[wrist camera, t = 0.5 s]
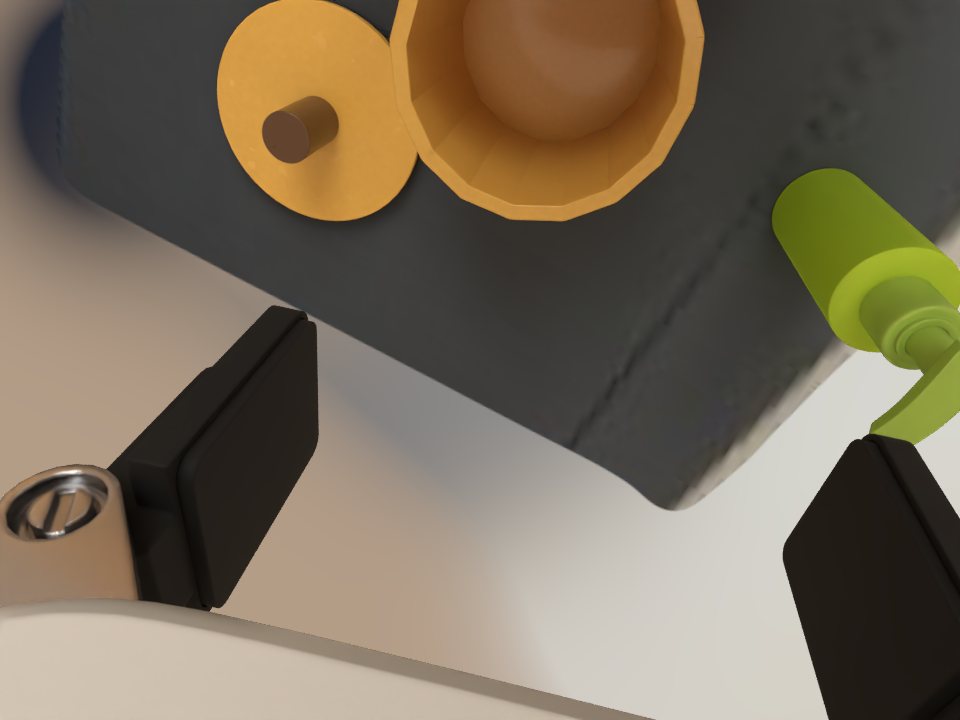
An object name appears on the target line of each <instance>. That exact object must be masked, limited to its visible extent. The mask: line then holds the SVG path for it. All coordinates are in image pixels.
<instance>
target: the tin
mask: <svg viewBox="0 0 960 720" xmlns="http://www.w3.org/2000/svg"><path fill="white" fill-rule="evenodd" d="M704 34H705V33H704V29H703V25H702V21H701V16H700V12H699V8H698V3H697V0H399V4H398V8H397V12H396V16H395V20H394V24H393V28H392V32H391V36H390V40H389V41H390V53H391V63H392V73H393V83H394V93H395V102H396V107H397V110H398V112H399V114H400V116H401V118H402V120H403V122H404V124H405V126H406V129H407V131H408V133H409V135H410V137H411V139H412V141H413V143H414V145H415V147H416V150H417V152H418V154H419V156H420V158H421V159H422V161H423V162H424V163H425V164H426V165H427V166H428V167H429V168H430V169H431V170H432V171H433V172H434V173H436V174H437V175H438V176H439V177H440V178H441V179H442V180H443V181H444V182H445V183H446V184H447V185H448V186H449V187H450V188H451V189H452V190H453V191H454V192H455V193H456V194H457V195H458V196H459V197H460V198H462V199H464V200H466V201H468V202H471V203H473V204H475V205H478V206H480V207H482V208H485V209H487V210H489V211H491V212H494V213H496V214H498V215H501V216H503V217H505V218H508V219H512V220H540V221H567V220H569V219H572V218H575V217H578V216H580V215H583V214H586V213H589V212H592V211H594V210H597V209H600V208H603V207H606V206H608V205H611V204H614V203H616V202H618V201H619V200H620V199H621V198H623V197H624V196H625V195H626V194H627V193H628V192H630V191H631V190H632V189H633V188H634V187H635V186H637V185H638V184H639V183H640V182H641V181H642V180H644V179H645V178H646V177H647V176H648V175H649V174H651V173H652V172H653V171H654V170H655V169H656V168H658V167H659V166H660V165H661V164H662V162H663V161H664V160H665V158H666V156H667V154H668V152H669V151H670V149H671V147H672V145H673V143H674V142H675V140H676V138H677V136H678V134H679V133H680V131H681V129H682V127H683V126H684V124H685V122H686V120H687V118H688V117H689V115H690V113H691V111H692V109H693V107H694V106H693V105H694V104H695V99H696V93H697V86H698V80H699V73H700V66H701V60H702V53H703V47H704V40H705V38H704Z"/></svg>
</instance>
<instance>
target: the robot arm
mask: <svg viewBox="0 0 960 720" xmlns="http://www.w3.org/2000/svg"><path fill="white" fill-rule="evenodd" d="M317 376H318V375H317V329H316V325H315V323H314V322H311V321H308V317H307V314H306V313H305V312H304V311H299V310H294V309H289V308H285V307H280V306H275V305H274V306H271V307H269V308H268V309H267V310H266V311H265V312H264V313H263V314H262V315H261V317H260V318H259V319H258V320H257V321H256V322H255V323H254V324H253V325H252V326H251V327H250V328H249V329H248V330H247V331H246V332H245V333H244V334H243V335H242V336H241V337H240V338H239V339H238V340H237V342H236V343H235V344H234V345H233V346H232V347H231V348H230V349H229V350H228V351H227V352H226V353H225V354H224V355H223V356H222V357H221V358H220V359H219V361H217V362H216V363H215V364H214V365H213V366H212V367H209V368H206V369H205V370H203V371H202V372H201V373H200V374H199V375H198V376H197V377H196V378H195V379H194V380H193V381H192V382H191V383H190V384H189V385H188V386H187V387H186V388H185V389H184V390H183V391H182V392H181V393H180V394H179V395H178V396H177V397H176V398H175V399H174V400H173V401H172V402H171V403H170V404H169V405H168V407H167V408H166V409H165V410H164V411H163V412H162V413H161V414H160V415H159V416H158V417H157V418H156V419H155V420H154V421H153V422H152V423H151V424H150V425H149V426H148V427H147V428H146V429H145V430H144V431H143V432H142V433H141V434H140V435H139V436H138V437H137V438H136V439H135V440H134V441H133V442H132V443H131V445H129V447H128V448H127V449H126V450H125V451H124V452H123V453H122V454H121V455H120V456H119V457H118V458H117V459H116V460H115V461H114V462H113V463H112V464H111V465H110V466H109V467H108V468H107V469H103V468H100V467H97V466H94V465H79V464H76V465H75V464H74V465H67V466H60V467H56V468H52V469H49V470H46V471H43V472H40V473H37V474H35V475H33V476H31V477H29V478H27V479H26V480H24V481H22V482H20V483H18V484H17V485H16V486H15V487H13V488H12V489H11V490H10V491H8V492H7V493H6V494H5V495H4V496H3V497H2V499H1V500H0V720H654V719H650V718H646V717H642V716H638V715H634V714H630V713H626V712H622V711H618V710H614V709H610V708H606V707H602V706H598V705H594V704H590V703H586V702H582V701H578V700H574V699H570V698H566V697H562V696H558V695H554V694H550V693H546V692H542V691H538V690H534V689H530V688H526V687H522V686H518V685H514V684H510V683H506V682H502V681H498V680H494V679H490V678H486V677H482V676H478V675H474V674H469V673H466V672H462V671H457V670H453V669H449V668H445V667H441V666H437V665H432V664H429V663H425V662H420V661H417V660H412V659H408V658H404V657H400V656H396V655H392V654H388V653H384V652H379V651H376V650H371V649H367V648H363V647H359V646H355V645H350V644H347V643H343V642H339V641H335V640H330V639H326V638H322V637H318V636H314V635H310V634H305V633H301V632H296V631H292V630H288V629H283V628H279V627H274V626H270V625H266V624H261V623H257V622H252V621H248V620H243V619H239V618H235V617H230V616H226V615H221V614H216V613H212V612H210V610H211V608H212V607H215V608H220V607H222V606H223V605H224V604H225V603H226V601H227V600H228V598H229V596H230V595H231V593H232V591H233V589H234V588H235V586H236V584H237V583H238V581H239V579H240V578H241V576H242V574H243V573H244V571H245V569H246V567H247V566H248V564H249V562H250V560H251V559H252V557H253V556H254V554H255V552H256V551H257V549H258V547H259V545H260V544H261V542H262V540H263V539H264V537H265V535H266V534H267V532H268V530H269V528H270V527H271V525H272V523H273V522H274V520H275V518H276V517H277V515H278V513H279V512H280V510H281V508H282V506H283V505H284V503H285V501H286V500H287V498H288V496H289V495H290V493H291V491H292V489H293V488H294V486H295V484H296V483H297V481H298V479H299V478H300V476H301V474H302V472H303V471H304V469H305V467H306V466H307V464H308V462H309V461H310V459H311V457H312V456H313V453H314V451H315V449H316V446H317V442H318V435H319V433H318V432H319V430H318V377H317ZM783 562H784V566H785V570H786V573H787V577H788V580H789V584H790V587H791V591H792V594H793V598H794V601H795V604H796V608H797V611H798V615H799V618H800V622H801V625H802V629H803V632H804V636H805V639H806V642H807V646H808V649H809V653H810V656H811V660H812V663H813V666H814V670H815V674H816V677H817V680H818V684H819V687H820V691H821V694H822V698H823V701H824V704H825V708H826V712H827V715H828V719H829V720H960V518H959V517H958V515H957V514H956V512H955V510H954V509H953V507H952V506H951V504H950V502H949V501H948V499H947V498H946V496H945V495H944V493H943V491H942V490H941V488H940V486H939V485H938V483H937V482H936V480H935V478H934V477H933V475H932V473H931V472H930V470H929V469H928V467H927V466H926V464H925V462H924V461H923V459H922V458H921V456H920V454H919V453H918V451H917V449H916V448H915V446H914V445H913V444H912V443H911V442H908V441H906V440H901V439H897V438H892V437H887V436H883V435H878V434H868V435H866V436H864V437H863V438H862V439H861V440H860V439H856V440H854V441H852V442H851V443H850V444H849V446H848V447H847V449H846V450H845V452H844V454H843V455H842V456H841V458H840V459H839V461H838V462H837V464H836V466H835V467H834V469H833V470H832V472H831V473H830V475H829V476H828V478H827V479H826V481H825V482H824V484H823V485H822V487H821V488H820V490H819V491H818V493H817V495H816V496H815V498H814V499H813V501H812V502H811V504H810V505H809V507H808V508H807V510H806V511H805V513H804V514H803V516H802V517H801V519H800V520H799V522H798V524H797V525H796V526H795V528H794V529H793V531H792V533H791V534H790V536H789V537H788V539H787V540H786V542H785V545H784V548H783Z"/></svg>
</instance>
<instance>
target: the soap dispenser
mask: <svg viewBox="0 0 960 720" xmlns="http://www.w3.org/2000/svg"><path fill="white" fill-rule="evenodd" d="M772 227H773V230H774V233H775V235H776V237H777V239H778V240H779V242H780V244H781V245H782V247H783V249H784V250H785V252H786V254H787V255H788V257H789V258H790V260H791V262H792V263H793V265H794V267H795V268H796V270H797V272H798V273H799V275H800V277H801V278H802V280H803V282H804V283H805V285H806V287H807V288H808V290H809V292H810V293H811V295H812V297H813V298H814V300H815V302H816V303H817V305H818V307H819V308H820V310H821V312H822V313H823V315H824V317H825V318H826V320H827V322H828V323H829V325H830V327H831V328H832V330H833V331H834V333H835V334H836V335H837V337H838V338H839V339H841V340H842V341H843V342H844V343H846V344H848V345H849V346H851V347H854V348H856V349H859V350H863V351H868V352H881V353H882V354H883V356H884V357H885V358H886V359H887V360H888V361H889V362H890V363H892V364H893V365H895V366H897V367H900V368H904V369H913V370H917V369H920V370H921V371H922V373H923V374H924V375H923V376H922V377H921V379H920V380H919V381H918V382H917V383H916V384H915V385H914V386H913V387H912V388H911V389H910V390H909V392H908V393H907V394H906V395H905V396H904V397H903V398H902V399H901V400H900V401H899V402H898V403H896V404H895V405H894V406H893V407H892V408H891V409H890V410H889V411H887V412H886V413H885V414H883V415H882V416H881V417H880V418H878V419H877V420H875V421H874V422H873V423H872V424H871V428H870V432H869V434H878V435H883V436H887V437H892V438H897V439H901V440H906V441H908V442H911V443H912V444H913V445H915V444H916V443H918V442H920V441H921V440H923V439H925V438H926V437H927V436H929V435H930V434H932V433H933V432H935V431H936V430H938V429H939V428H940V427H942V426H943V425H944V424H945V423H947V422H948V421H949V420H950V419H951V418H952V417H953V416H955V415H956V414H957V413H958V412H959V411H960V313H959V311H958V310H957V309H958V307H959V305H960V271H959V269H958V267H957V266H956V265H955V263H954V262H953V261H952V260H951V259H950V258H948V257H947V256H946V255H945V254H944V253H943V252H942V251H941V250H939V249H938V248H937V247H936V246H935V245H934V244H933V243H931V242H930V241H929V240H928V239H927V238H926V237H925V236H924V235H922V234H921V233H920V232H919V231H918V230H917V229H916V228H915V227H913V226H912V225H911V224H910V223H909V222H908V221H907V220H905V219H904V218H903V217H902V216H901V215H900V214H899V213H898V212H896V211H895V210H894V209H893V208H892V207H891V206H890V205H888V204H887V203H886V202H885V201H884V200H883V199H882V198H881V197H879V196H878V195H877V194H876V193H875V192H874V191H873V190H872V189H870V188H869V187H868V186H867V185H866V184H865V183H864V182H862V181H861V180H860V179H859V178H858V177H857V176H855V175H854V174H852V173H850V172H848V171H845V170H842V169H835V168H827V169H819V170H815V171H812V172H809V173H807V174H805V175H803V176H801V177H799V178H797V179H796V180H795V181H793V182H792V183H791V184H790V185H788V186H787V187H786V188H785V190H784V191H783V192H782V193H781V195H780V196H779V198H778V199H777V201H776V203H775V206H774V209H773V213H772Z"/></svg>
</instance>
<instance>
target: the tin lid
mask: <svg viewBox="0 0 960 720" xmlns="http://www.w3.org/2000/svg"><path fill="white" fill-rule="evenodd" d="M217 96H218V107H219V112H220V117H221V121H222V125H223V128H224V131H225V134H226V136H227V139H228V141H229V144H230V146H231V148H232V150H233V152H234V153H235V155H236V157H237V159H238V160H239V162H240V163H241V165H242V166H243V168H244V169H245V171H246V172H247V173H248V174H249V175H250V177H251V178H252V179H253V180H254V181H255V182H256V183H257V184H258V185H259V186H260V187H261V188H262V189H263V190H264V191H265V192H266V193H267V194H269V195H270V196H271V197H272V198H274V199H275V200H276V201H278V202H279V203H281V204H283V205H284V206H286V207H287V208H289V209H292V210H294V211H296V212H298V213H300V214H303V215H306V216H309V217H312V218H316V219H321V220H329V221H347V220H353V219H358V218H361V217H364V216H367V215H370V214H372V213H374V212H376V211H378V210H380V209H381V208H382V207H384V206H385V205H387V204H388V203H389V202H390V201H391V200H392V199H393V198H394V197H395V196H396V195H397V194H398V193H399V192H400V191H401V189H402V188H403V187H404V185H405V184H406V182H407V181H408V179H409V177H410V175H411V173H412V171H413V169H414V166H415V163H416V161H417V157H418V152H417V150H416V147H415V145H414V143H413V141H412V139H411V137H410V135H409V133H408V131H407V129H406V126H405V124H404V122H403V120H402V118H401V116H400V114H399V112H398V110H397V107H396V102H395V93H394V83H393V73H392V63H391V53H390V43H389V42H388V41H387V40H386V39H385V38H384V36H383V35H382V34H381V33H380V32H379V31H378V30H376V29H375V28H374V27H373V26H372V25H371V24H370V23H369V22H367V21H366V20H364V19H363V18H362V17H360V16H359V15H357V14H356V13H354V12H352V11H350V10H348V9H346V8H344V7H342V6H340V5H337V4H334V3H331V2H329V1H324V0H280V1H276V2H273V3H270V4H267V5H265V6H263V7H261V8H259V9H257V10H256V11H255V12H253V13H252V14H251V15H249V16H248V17H247V18H246V19H245V20H244V21H243V22H242V23H241V24H240V25H239V26H238V27H237V28H236V30H235V31H234V33H233V34H232V36H231V37H230V39H229V41H228V43H227V45H226V47H225V49H224V52H223V55H222V58H221V62H220V66H219V72H218V81H217Z"/></svg>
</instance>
